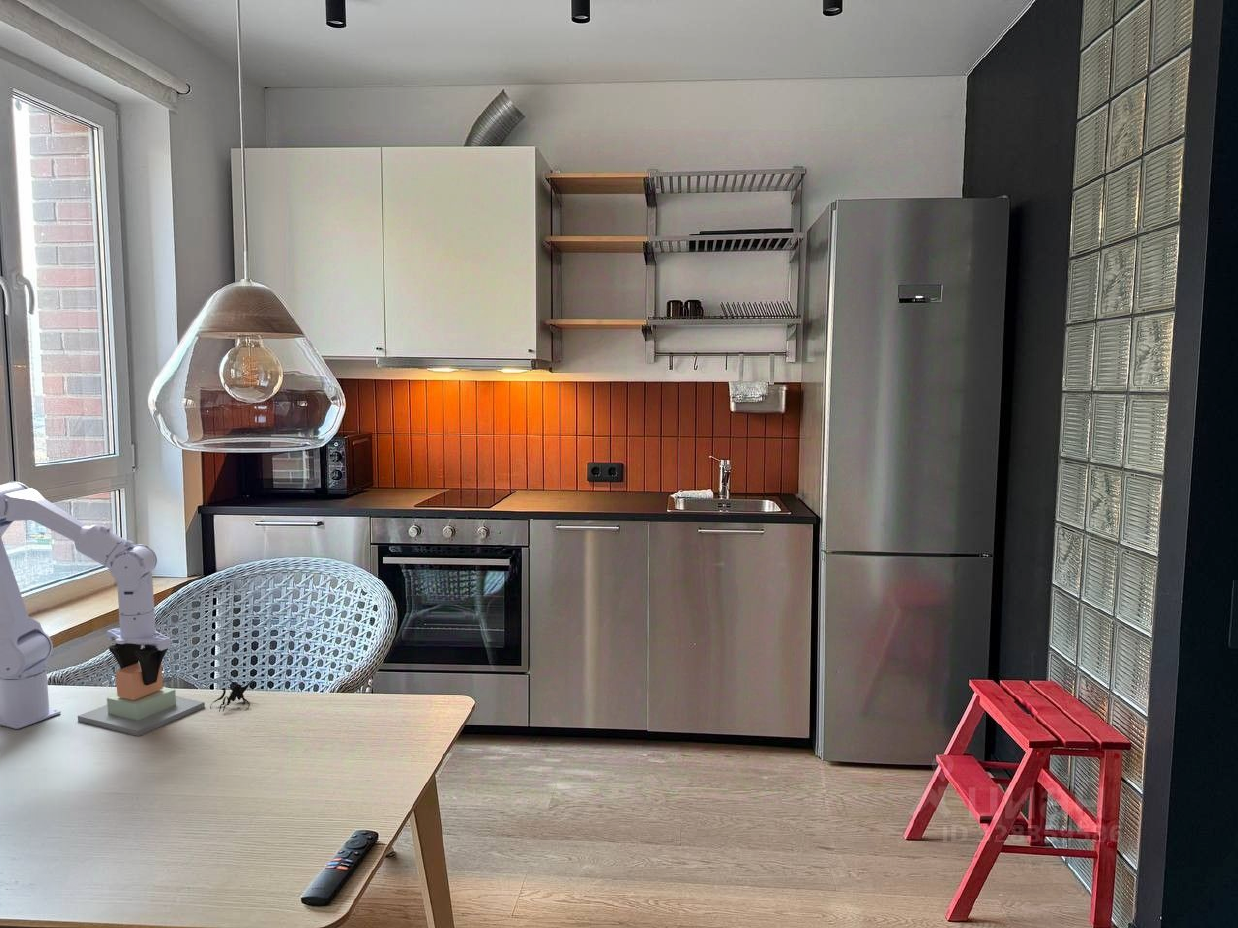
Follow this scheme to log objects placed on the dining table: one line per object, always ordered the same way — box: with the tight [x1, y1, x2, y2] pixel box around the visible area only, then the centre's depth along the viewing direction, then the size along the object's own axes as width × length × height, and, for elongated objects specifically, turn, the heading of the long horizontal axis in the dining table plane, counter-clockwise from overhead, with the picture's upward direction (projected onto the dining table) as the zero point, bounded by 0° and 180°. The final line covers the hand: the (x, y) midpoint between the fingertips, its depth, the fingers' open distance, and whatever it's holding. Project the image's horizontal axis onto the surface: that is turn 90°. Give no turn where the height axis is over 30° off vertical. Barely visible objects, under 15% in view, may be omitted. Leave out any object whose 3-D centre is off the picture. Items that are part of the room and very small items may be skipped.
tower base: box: [77, 686, 206, 737], centre depth 156 cm, size 16×14×4 cm
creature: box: [209, 676, 257, 713], centre depth 160 cm, size 8×5×8 cm
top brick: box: [115, 662, 164, 700], centre depth 155 cm, size 4×6×5 cm
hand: (140, 681), depth 155 cm, fingers open, 5 cm apart
